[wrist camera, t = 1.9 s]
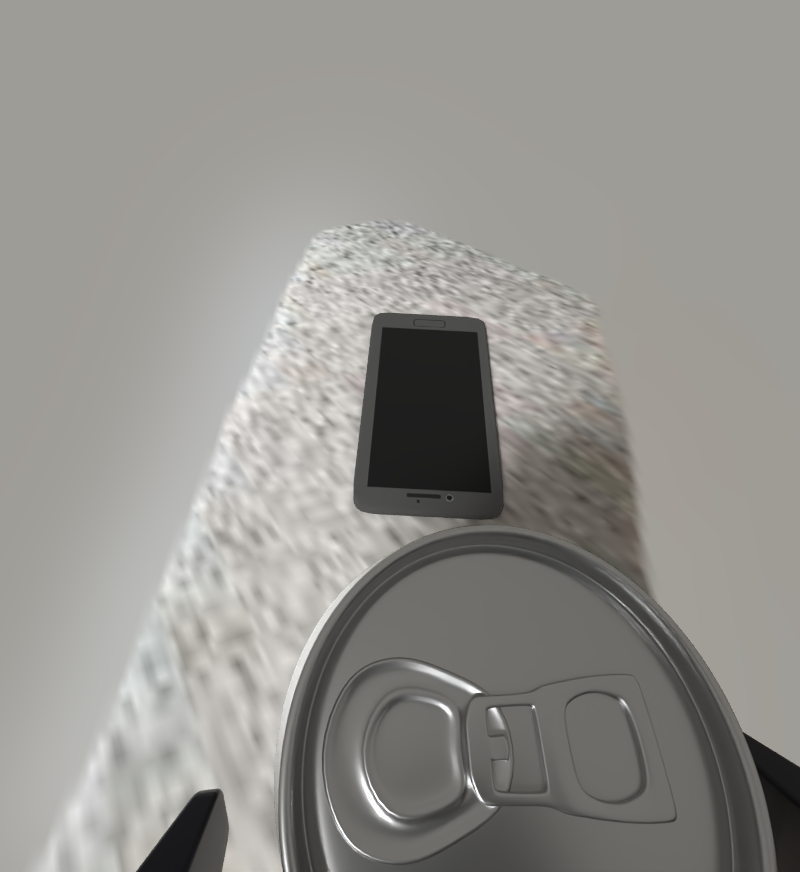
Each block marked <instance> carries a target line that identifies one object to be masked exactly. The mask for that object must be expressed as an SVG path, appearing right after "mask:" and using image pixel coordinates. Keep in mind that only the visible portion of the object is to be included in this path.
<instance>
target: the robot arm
mask: <svg viewBox="0 0 800 872" xmlns="http://www.w3.org/2000/svg"><path fill="white" fill-rule="evenodd" d="M743 734H744V737H745V739H746V742H747V744H748V747H749V749H750V752H751V755H752V757H753V760H754V763H755V766H756V769H757V772H758V775H759V779H760V782H761V785H762V789H763V792H764V796H765V800H766V804H767V808H768V812H769V817H770V821H771V826H772V832H773V837H774V843H775V850H776V857H777V866H778V872H800V767H799V766H797V765H795V764H794V763H792V762H790V761H789V760H787V759H786V758H784V757H782V756H781V755H779V754H777V753H776V752H774V751H772V750H771V749H769V748H768V747H766V746H764V745H763V744H761V743H760V742H758V741H756V740H755V739H753V738H752V737H750V736H748V735H747V734H745V733H744V732H743ZM228 832H229V823H228V817H227V812H226V806H225V801H224V796H223V792H222V791H221V790H220V789H211V790H203V791H199V792H197V793H196V794H195V795H194V796H193V797H192V798H191V799H190V801H189V802H188V803H187V805H186V806H185V807H184V809H183V810H182V811H181V813H180V814H179V815H178V817H177V818H176V819H175V821H174V822H173V823H172V825H171V826H170V827H169V829H168V830H167V831H166V833H165V834H164V835H163V837H162V838H161V839H160V841H159V842H158V843H157V845H156V846H155V847H154V849H153V850H152V851H151V853H150V854H149V855H148V857H147V858H146V859H145V861H144V862H143V863H142V865H141V866H140V867H139V869H138V870H137V871H136V872H222V867H223V862H224V857H225V851H226V846H227V840H228Z"/></svg>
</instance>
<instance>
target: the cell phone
mask: <svg viewBox="0 0 800 872" xmlns="http://www.w3.org/2000/svg"><path fill="white" fill-rule="evenodd" d="M354 504H355V506H356V507H357V508H358V509H359V510H360V511H363V512H367V513H372V514H386V515H405V516H424V517H443V518H462V519H493V518H496V517H498V516H499V515H500V514H501V512H502V509H503V506H504V504H503V486H502V475H501V466H500V457H499V447H498V438H497V429H496V420H495V411H494V402H493V393H492V384H491V374H490V365H489V356H488V347H487V338H486V330H485V326H484V322H483V321H481V320H479V319H476V318H470V317H456V316H437V315H419V314H401V313H380V314H378V315H376V316H375V317H374V320H373V324H372V330H371V339H370V347H369V356H368V365H367V373H366V382H365V390H364V399H363V407H362V416H361V425H360V433H359V442H358V450H357V459H356V467H355V476H354Z"/></svg>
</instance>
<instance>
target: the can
mask: <svg viewBox="0 0 800 872" xmlns="http://www.w3.org/2000/svg"><path fill="white" fill-rule="evenodd" d="M274 805H275V820H276V830H277V838H278V845H279V852H280V857H281V863H282V868H283V872H778V866H777V857H776V850H775V843H774V837H773V832H772V826H771V821H770V817H769V812H768V808H767V804H766V800H765V796H764V792H763V789H762V785H761V782H760V779H759V775H758V772H757V769H756V766H755V763H754V760H753V757H752V755H751V752H750V749H749V747H748V744H747V742H746V739H745V737H744V734H743V732H742V730H741V727H740V725H739V723H738V721H737V719H736V717H735V714H734V712H733V710H732V708H731V706H730V705H729V702H728V700H727V699H726V697H725V695H724V693H723V691H722V689H721V688H720V686H719V684H718V682H717V681H716V679H715V677H714V676H713V674H712V672H711V671H710V669H709V668H708V666H707V665H706V663H705V662H704V660H703V659H702V657H701V656H700V654H699V653H698V651H697V650H696V649H695V647H694V646H693V644H692V643H691V642H690V640H689V639H688V638H687V637H686V635H685V634H684V633H683V632H682V630H681V629H680V628H679V627H678V625H676V623H675V622H674V621H673V620H672V619H671V618H670V616H669V615H668V614H667V613H666V612H665V611H664V610H663V609H662V608H661V607H660V606H659V605H658V604H657V603H656V602H655V601H654V600H653V599H652V598H651V597H650V596H649V595H648V594H647V593H646V592H645V591H644V590H642V589H641V588H640V587H639V586H638V585H637V584H635V583H634V582H633V581H632V580H630V579H629V578H628V577H627V576H625V575H624V574H623V573H621V572H620V571H619V570H617V569H616V568H614V567H613V566H611V565H610V564H608V563H607V562H605V561H604V560H602V559H600V558H599V557H597V556H595V555H594V554H592V553H590V552H588V551H586V550H584V549H582V548H580V547H578V546H576V545H574V544H572V543H569V542H567V541H565V540H562V539H560V538H557V537H554V536H551V535H548V534H545V533H541V532H538V531H534V530H530V529H525V528H519V527H513V526H503V525H474V526H465V527H458V528H453V529H448V530H444V531H440V532H437V533H434V534H431V535H428V536H425V537H423V538H420V539H418V540H416V541H414V542H411V543H409V544H407V545H406V546H404V547H402V548H400V549H398V550H396V551H394V552H392V553H390V554H388V555H387V556H385V557H383V558H382V559H380V560H379V561H377V562H375V563H374V564H373V565H371V566H370V567H368V568H367V569H366V570H365V571H363V572H362V573H361V574H360V575H359V576H357V577H356V578H355V579H354V580H353V581H352V582H351V583H350V584H349V585H348V586H347V587H346V588H345V589H344V590H343V591H342V592H341V593H340V594H339V596H338V597H337V598H336V599H335V600H334V601H333V603H332V604H331V605H330V607H329V608H328V609H327V611H326V612H325V613H324V615H323V616H322V618H321V619H320V621H319V622H318V624H317V626H316V627H315V629H314V631H313V632H312V634H311V636H310V638H309V640H308V641H307V643H306V645H305V648H304V650H303V652H302V654H301V656H300V658H299V661H298V663H297V666H296V668H295V671H294V673H293V676H292V679H291V682H290V685H289V688H288V692H287V695H286V699H285V703H284V707H283V711H282V716H281V720H280V726H279V732H278V739H277V746H276V757H275V772H274Z"/></svg>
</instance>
